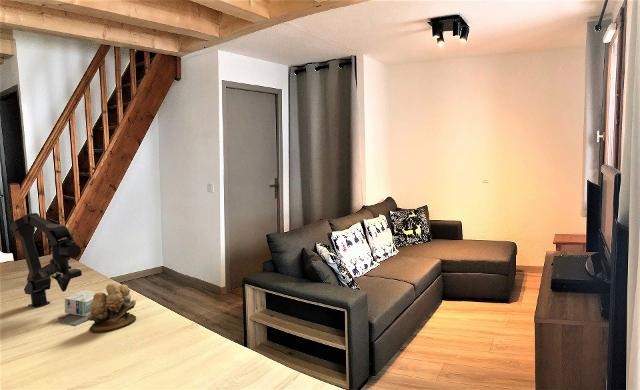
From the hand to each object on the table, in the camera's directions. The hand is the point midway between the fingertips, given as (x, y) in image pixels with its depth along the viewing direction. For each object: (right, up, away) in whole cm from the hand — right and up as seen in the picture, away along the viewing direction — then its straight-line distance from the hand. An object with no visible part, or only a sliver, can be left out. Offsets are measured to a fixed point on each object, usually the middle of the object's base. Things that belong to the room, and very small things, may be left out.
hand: (63, 291), depth 190 cm
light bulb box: (+5, -4, -1) cm, 6 cm away
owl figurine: (+29, -10, -16) cm, 35 cm away
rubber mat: (+13, -9, -6) cm, 17 cm away
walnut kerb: (+7, -9, -3) cm, 12 cm away
